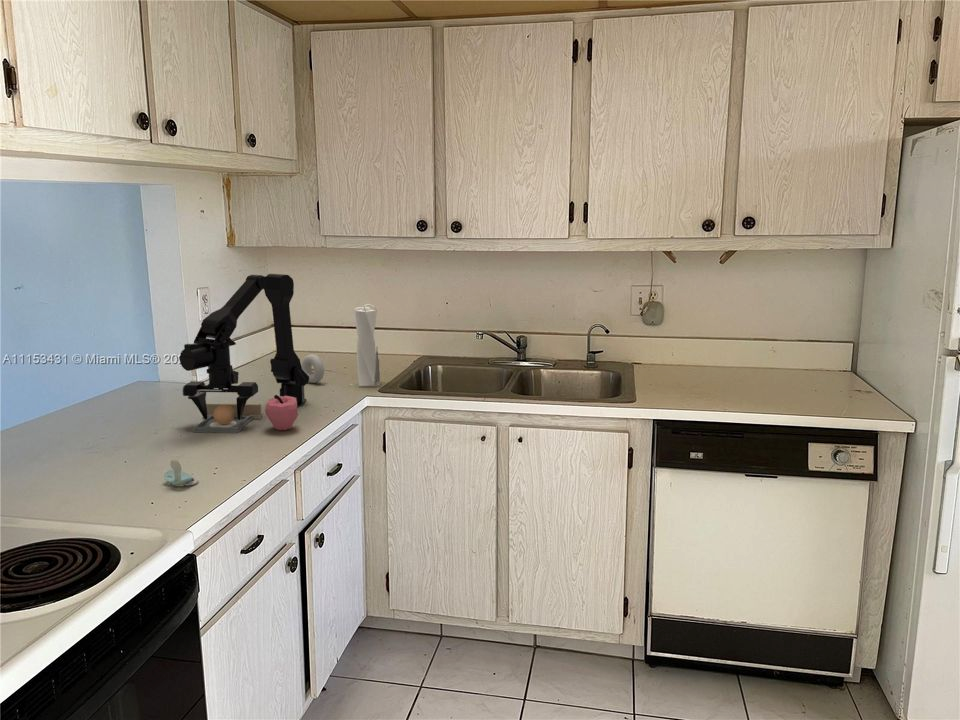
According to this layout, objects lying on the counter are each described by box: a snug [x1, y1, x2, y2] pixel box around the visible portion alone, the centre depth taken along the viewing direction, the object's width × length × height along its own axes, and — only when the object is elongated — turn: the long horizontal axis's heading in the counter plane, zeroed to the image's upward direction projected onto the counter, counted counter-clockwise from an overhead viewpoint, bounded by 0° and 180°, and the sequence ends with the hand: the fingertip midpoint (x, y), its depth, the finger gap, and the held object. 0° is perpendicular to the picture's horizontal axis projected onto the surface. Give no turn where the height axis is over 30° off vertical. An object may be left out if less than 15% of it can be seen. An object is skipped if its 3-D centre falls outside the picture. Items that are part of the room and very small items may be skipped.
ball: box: [213, 404, 235, 425], centre depth 197 cm, size 6×6×6 cm
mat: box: [192, 416, 253, 434], centre depth 198 cm, size 12×12×1 cm
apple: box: [264, 394, 299, 431], centre depth 195 cm, size 10×9×10 cm
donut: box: [301, 353, 325, 384], centre depth 246 cm, size 10×3×10 cm, turn 53°
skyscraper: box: [353, 303, 381, 388], centre depth 242 cm, size 8×8×28 cm
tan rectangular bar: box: [206, 402, 264, 420], centre depth 205 cm, size 16×3×4 cm, turn 90°
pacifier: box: [163, 457, 199, 487], centre depth 157 cm, size 7×6×6 cm
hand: (222, 419), depth 197 cm, fingers open, 9 cm apart
